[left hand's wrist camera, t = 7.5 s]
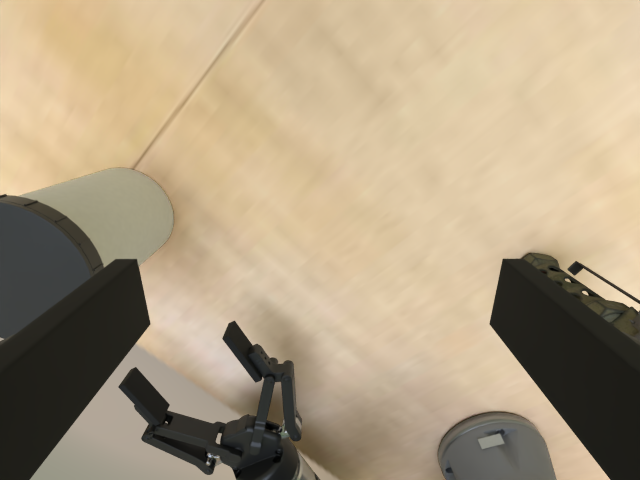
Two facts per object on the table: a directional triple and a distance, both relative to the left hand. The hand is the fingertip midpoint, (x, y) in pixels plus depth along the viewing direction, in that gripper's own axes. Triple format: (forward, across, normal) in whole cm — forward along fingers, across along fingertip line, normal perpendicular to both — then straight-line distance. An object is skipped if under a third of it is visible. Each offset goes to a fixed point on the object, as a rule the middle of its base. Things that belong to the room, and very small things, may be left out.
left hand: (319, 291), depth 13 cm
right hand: (+20, -16, -19) cm, 32 cm away
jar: (+27, -22, -5) cm, 35 cm away
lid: (+11, -22, -5) cm, 25 cm away
